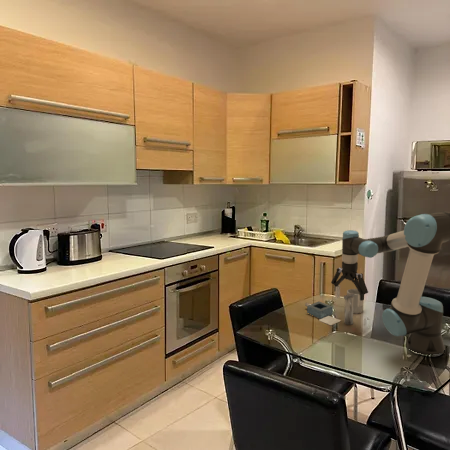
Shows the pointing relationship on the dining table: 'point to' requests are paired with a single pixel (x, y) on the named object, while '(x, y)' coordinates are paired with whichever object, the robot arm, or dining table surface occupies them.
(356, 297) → the mug
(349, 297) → the key
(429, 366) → the dining table surface
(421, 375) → the dining table surface
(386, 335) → the dining table surface
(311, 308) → the grey-blue open box
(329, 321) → the mat
